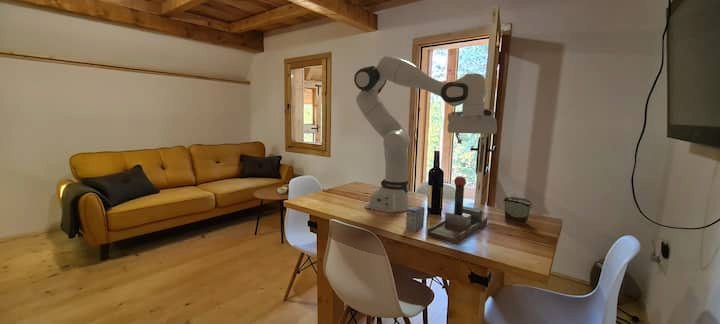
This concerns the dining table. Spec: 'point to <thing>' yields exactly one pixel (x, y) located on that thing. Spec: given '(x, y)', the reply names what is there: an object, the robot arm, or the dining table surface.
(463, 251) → the dining table surface
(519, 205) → the food container
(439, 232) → the press base
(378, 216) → the dining table surface
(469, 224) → the red knob lever
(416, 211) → the medicine box
